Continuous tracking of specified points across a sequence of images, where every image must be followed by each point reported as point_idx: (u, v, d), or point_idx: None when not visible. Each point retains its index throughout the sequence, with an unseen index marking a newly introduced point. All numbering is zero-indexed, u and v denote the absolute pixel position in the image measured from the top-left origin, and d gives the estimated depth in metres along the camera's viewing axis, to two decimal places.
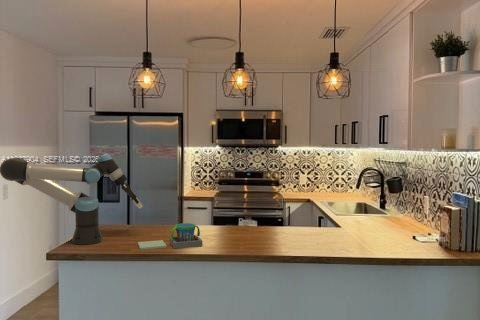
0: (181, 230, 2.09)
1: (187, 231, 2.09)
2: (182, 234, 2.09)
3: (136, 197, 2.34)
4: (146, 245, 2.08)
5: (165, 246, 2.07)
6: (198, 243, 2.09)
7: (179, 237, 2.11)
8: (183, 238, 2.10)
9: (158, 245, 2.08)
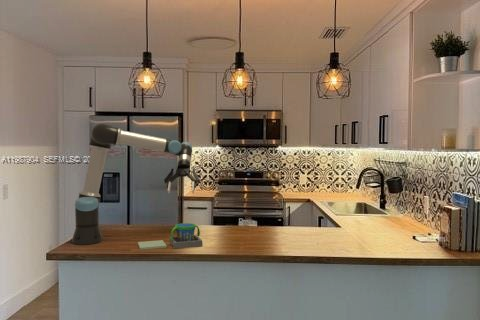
0: (181, 230, 2.09)
1: (187, 231, 2.09)
2: (182, 234, 2.09)
3: None
4: (146, 245, 2.08)
5: (165, 246, 2.07)
6: (198, 243, 2.09)
7: (179, 237, 2.11)
8: (183, 238, 2.10)
9: (158, 245, 2.08)
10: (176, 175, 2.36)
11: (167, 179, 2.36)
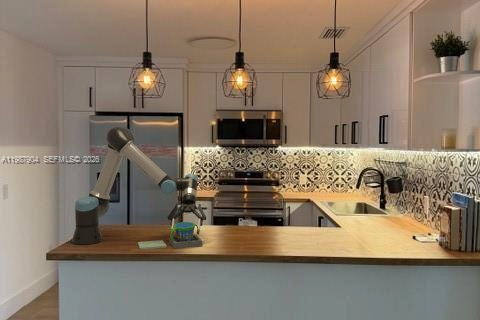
0: (180, 231, 2.08)
1: (187, 232, 2.09)
2: (182, 235, 2.09)
3: None
4: (146, 245, 2.08)
5: (165, 246, 2.07)
6: (198, 243, 2.09)
7: (179, 237, 2.10)
8: (183, 238, 2.09)
9: (158, 245, 2.08)
10: (180, 211, 2.19)
11: None
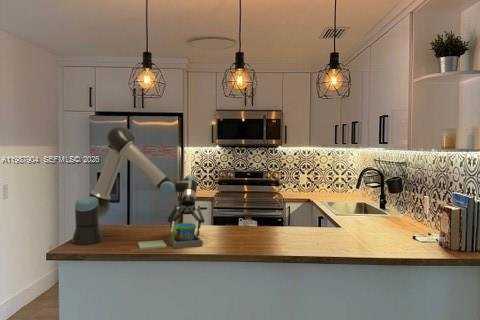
0: (182, 230, 2.08)
1: (189, 232, 2.09)
2: (183, 234, 2.09)
3: None
4: (146, 245, 2.08)
5: (165, 246, 2.07)
6: (198, 243, 2.09)
7: (180, 237, 2.10)
8: (184, 238, 2.09)
9: (158, 245, 2.08)
10: (180, 213, 2.18)
11: None
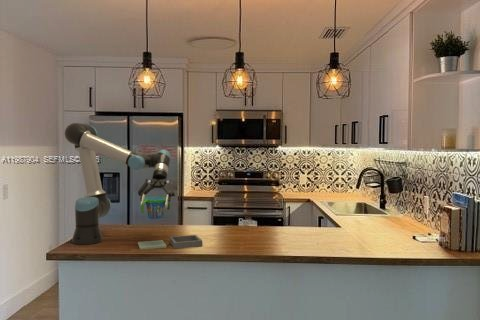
0: (152, 203, 2.05)
1: (158, 204, 2.06)
2: (153, 207, 2.06)
3: None
4: (146, 245, 2.08)
5: (165, 246, 2.07)
6: (198, 243, 2.09)
7: (149, 210, 2.07)
8: (154, 211, 2.06)
9: (158, 245, 2.08)
10: (151, 186, 2.15)
11: (141, 191, 2.15)
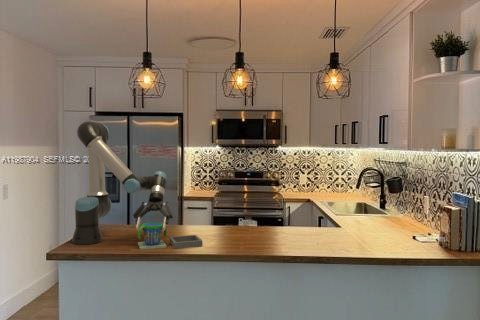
0: (149, 229, 2.06)
1: (155, 230, 2.07)
2: (149, 233, 2.06)
3: None
4: (146, 245, 2.08)
5: (165, 246, 2.07)
6: (198, 243, 2.09)
7: (146, 236, 2.07)
8: (150, 237, 2.07)
9: (158, 245, 2.08)
10: (147, 209, 2.16)
11: (137, 214, 2.16)
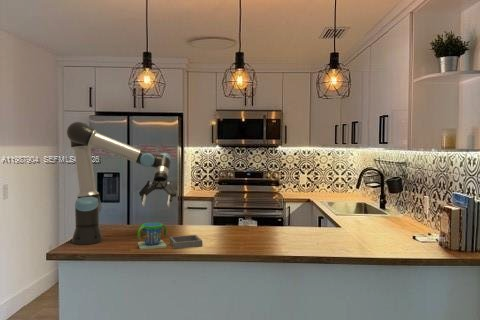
0: (148, 229, 2.06)
1: (155, 230, 2.07)
2: (149, 233, 2.06)
3: None
4: (146, 245, 2.08)
5: (165, 246, 2.07)
6: (198, 243, 2.09)
7: (146, 237, 2.07)
8: (150, 237, 2.07)
9: (158, 245, 2.08)
10: (152, 188, 2.28)
11: None
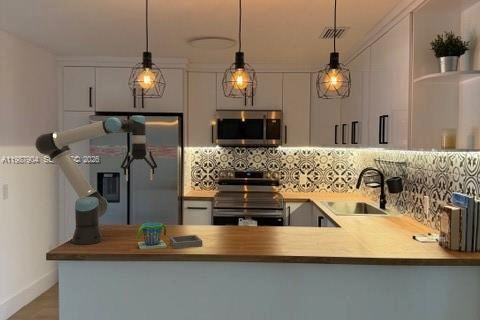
0: (148, 229, 2.06)
1: (155, 230, 2.07)
2: (149, 233, 2.06)
3: None
4: (146, 245, 2.08)
5: (165, 246, 2.07)
6: (198, 243, 2.09)
7: (146, 237, 2.07)
8: (150, 237, 2.07)
9: (158, 245, 2.08)
10: (132, 160, 2.31)
11: None
